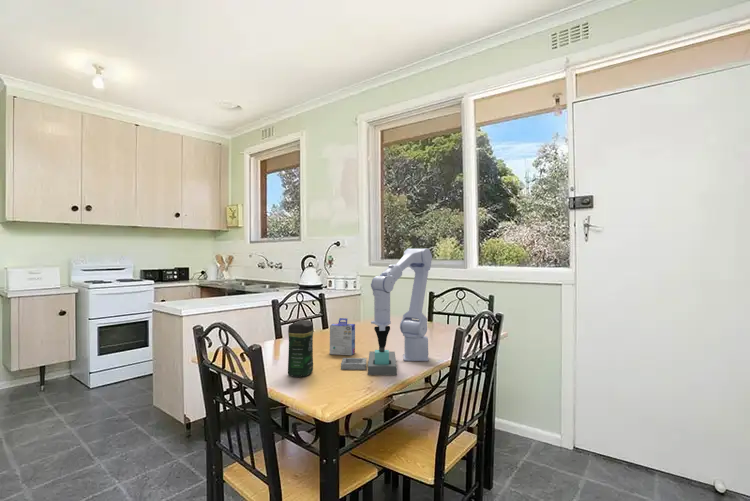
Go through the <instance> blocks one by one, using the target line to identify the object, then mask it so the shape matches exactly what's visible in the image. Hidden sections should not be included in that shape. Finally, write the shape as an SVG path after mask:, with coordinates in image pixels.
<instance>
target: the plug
mask: <svg viewBox="0 0 750 501" xmlns="http://www.w3.org/2000/svg"><path fill="white" fill-rule="evenodd" d="M385 347H386V346H385ZM385 347H379V346H378V349H375V350H374V351H375V364H389V352H390V350H389V349H386V348H385Z"/></svg>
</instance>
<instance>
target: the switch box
mask: <svg viewBox="0 0 750 501" xmlns="http://www.w3.org/2000/svg"><path fill="white" fill-rule="evenodd" d="M396 358H397V357H396V351H389V364H375V350H374V351H373V350H372V351H369V352H368V361H367V375H368V376H397V373H398V372H397V368H398V366H397V359H396Z"/></svg>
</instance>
